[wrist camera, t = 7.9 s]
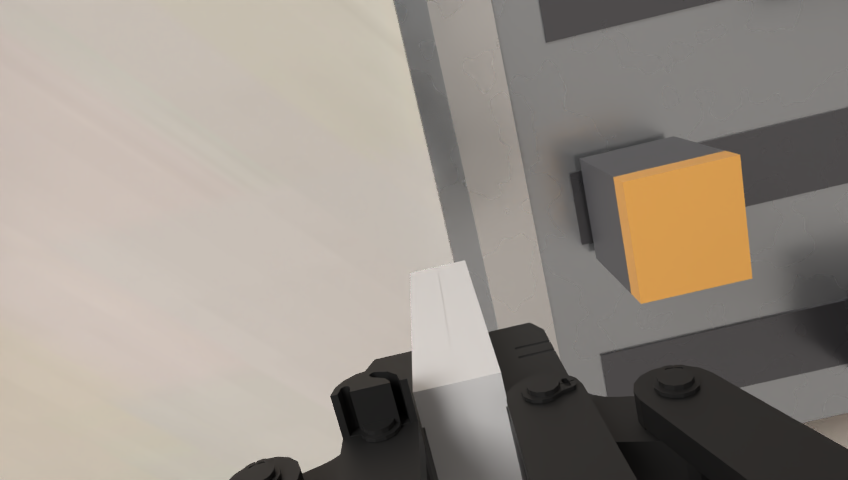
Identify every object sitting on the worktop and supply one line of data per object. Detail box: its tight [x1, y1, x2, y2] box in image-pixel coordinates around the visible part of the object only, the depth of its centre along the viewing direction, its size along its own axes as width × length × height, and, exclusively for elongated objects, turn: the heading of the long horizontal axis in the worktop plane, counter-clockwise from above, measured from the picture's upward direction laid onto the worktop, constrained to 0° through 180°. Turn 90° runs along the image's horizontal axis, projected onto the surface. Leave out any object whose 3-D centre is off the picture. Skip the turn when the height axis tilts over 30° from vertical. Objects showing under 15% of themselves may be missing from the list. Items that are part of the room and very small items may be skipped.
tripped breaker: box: [580, 136, 752, 304], centre depth 20 cm, size 4×3×4 cm
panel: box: [393, 0, 848, 423], centre depth 21 cm, size 21×22×6 cm
